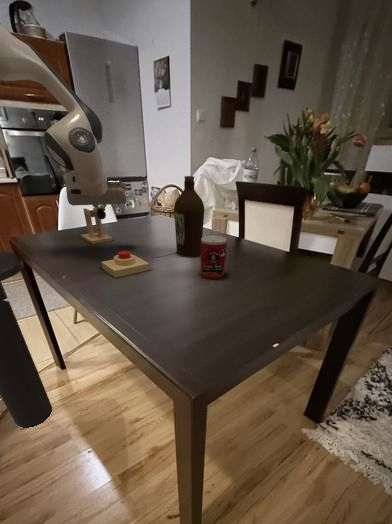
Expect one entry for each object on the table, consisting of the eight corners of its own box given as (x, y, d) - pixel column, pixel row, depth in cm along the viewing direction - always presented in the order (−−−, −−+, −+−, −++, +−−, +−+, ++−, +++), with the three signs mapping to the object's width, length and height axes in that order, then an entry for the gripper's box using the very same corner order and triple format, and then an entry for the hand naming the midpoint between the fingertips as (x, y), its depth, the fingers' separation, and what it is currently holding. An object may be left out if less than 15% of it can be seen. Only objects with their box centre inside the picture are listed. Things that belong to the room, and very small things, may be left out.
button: (121, 260, 88) (121, 255, 87) (116, 257, 90) (116, 252, 89) (132, 258, 90) (131, 253, 89) (127, 255, 92) (126, 250, 91)
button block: (115, 277, 86) (113, 265, 84) (102, 268, 92) (100, 256, 90) (149, 269, 92) (148, 257, 90) (135, 261, 98) (134, 249, 96)
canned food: (199, 279, 86) (200, 242, 80) (200, 269, 93) (201, 234, 86) (224, 280, 86) (227, 243, 80) (223, 270, 93) (226, 235, 86)
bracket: (112, 240, 119) (107, 210, 112) (91, 244, 114) (85, 212, 108) (101, 234, 127) (96, 205, 120) (81, 237, 122) (75, 207, 115)
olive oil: (194, 247, 113) (195, 174, 98) (208, 255, 105) (211, 177, 91) (170, 251, 109) (167, 175, 94) (182, 259, 101) (181, 178, 86)
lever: (108, 219, 108) (106, 209, 107) (99, 220, 107) (97, 210, 105) (95, 217, 117) (94, 208, 116) (87, 218, 116) (85, 209, 114)
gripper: (124, 173, 95) (128, 201, 109) (60, 173, 92) (72, 202, 105) (126, 189, 94) (130, 215, 108) (61, 190, 91) (73, 217, 104)
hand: (101, 209), depth 106 cm, fingers closed, pressing on lever
